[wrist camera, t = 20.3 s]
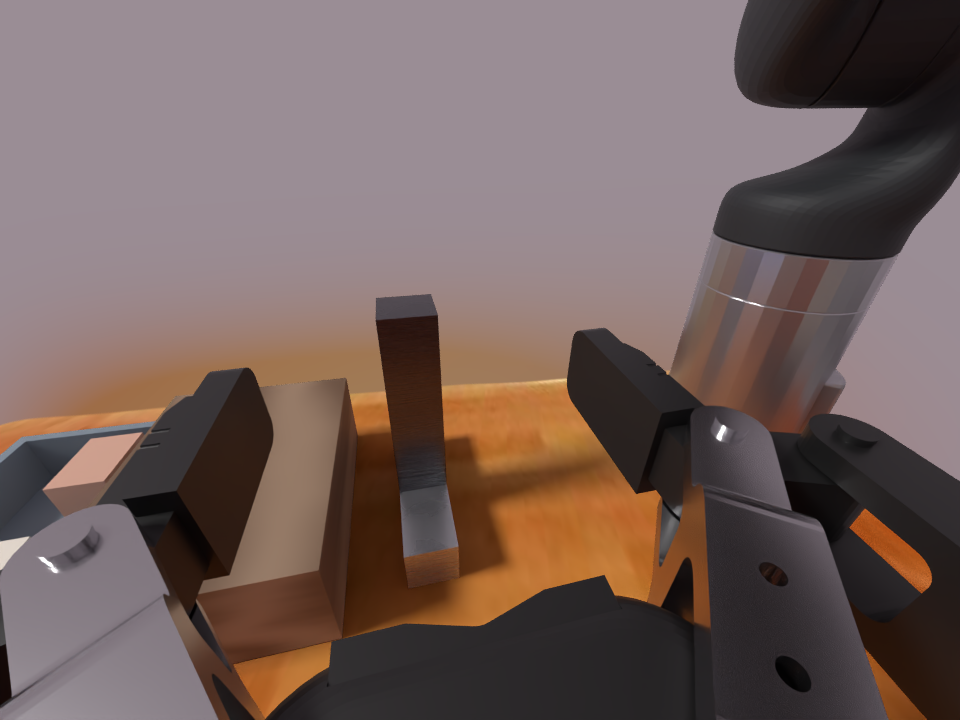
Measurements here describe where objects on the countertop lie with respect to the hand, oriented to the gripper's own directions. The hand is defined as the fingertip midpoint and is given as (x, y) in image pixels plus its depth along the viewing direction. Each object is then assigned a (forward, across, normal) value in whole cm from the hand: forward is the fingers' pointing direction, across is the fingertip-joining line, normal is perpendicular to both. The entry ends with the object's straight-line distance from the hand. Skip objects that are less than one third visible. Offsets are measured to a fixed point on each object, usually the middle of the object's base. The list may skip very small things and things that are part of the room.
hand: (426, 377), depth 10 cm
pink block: (+14, +19, +14) cm, 27 cm away
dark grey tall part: (+10, 0, +18) cm, 20 cm away
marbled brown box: (+10, +12, +17) cm, 23 cm away
